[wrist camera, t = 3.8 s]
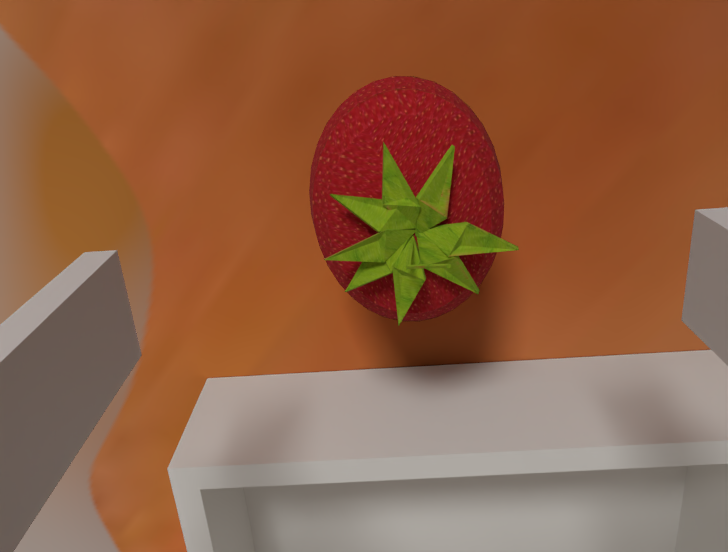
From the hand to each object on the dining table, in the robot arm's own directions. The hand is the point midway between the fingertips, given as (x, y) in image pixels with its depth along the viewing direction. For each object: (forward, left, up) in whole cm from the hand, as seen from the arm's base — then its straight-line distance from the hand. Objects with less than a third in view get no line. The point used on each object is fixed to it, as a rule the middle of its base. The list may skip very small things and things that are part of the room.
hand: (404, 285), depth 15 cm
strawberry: (0, 0, -11) cm, 11 cm away
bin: (+18, +2, -11) cm, 21 cm away
